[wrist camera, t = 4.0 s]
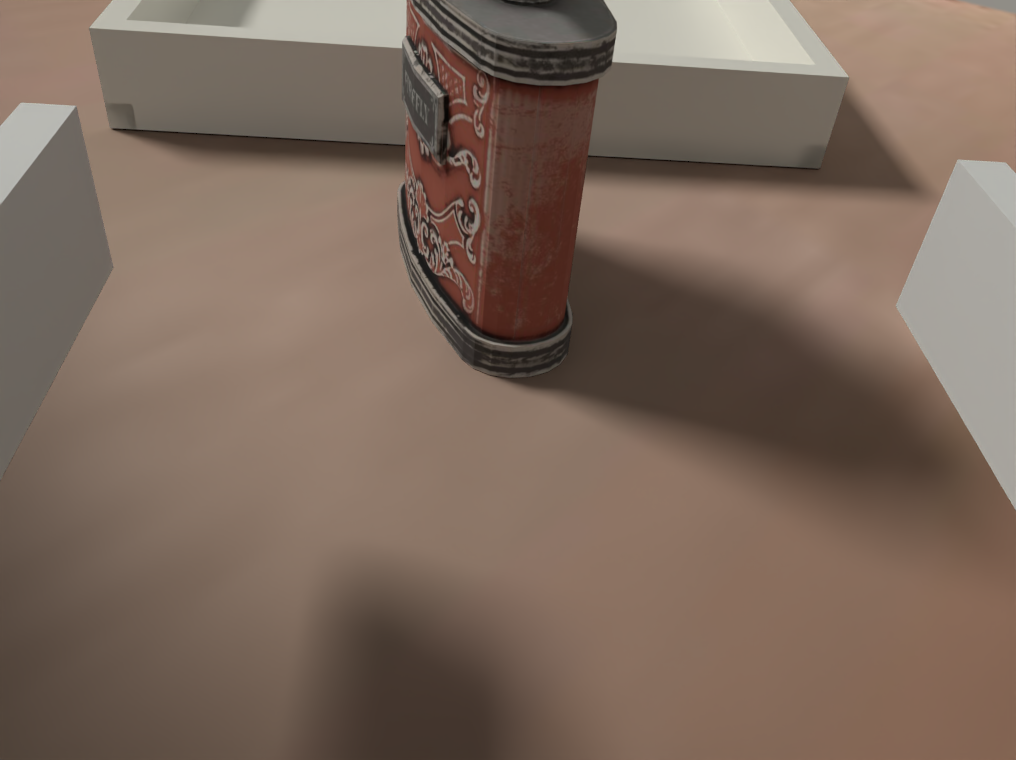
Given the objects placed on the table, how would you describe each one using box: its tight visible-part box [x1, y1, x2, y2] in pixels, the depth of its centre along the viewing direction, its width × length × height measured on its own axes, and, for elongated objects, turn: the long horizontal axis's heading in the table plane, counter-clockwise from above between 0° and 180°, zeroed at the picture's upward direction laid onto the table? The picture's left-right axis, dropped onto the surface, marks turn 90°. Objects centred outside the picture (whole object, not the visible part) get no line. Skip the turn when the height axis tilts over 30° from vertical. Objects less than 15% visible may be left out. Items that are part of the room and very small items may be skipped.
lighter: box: [398, 0, 617, 378], centre depth 20 cm, size 8×3×10 cm, turn 19°
